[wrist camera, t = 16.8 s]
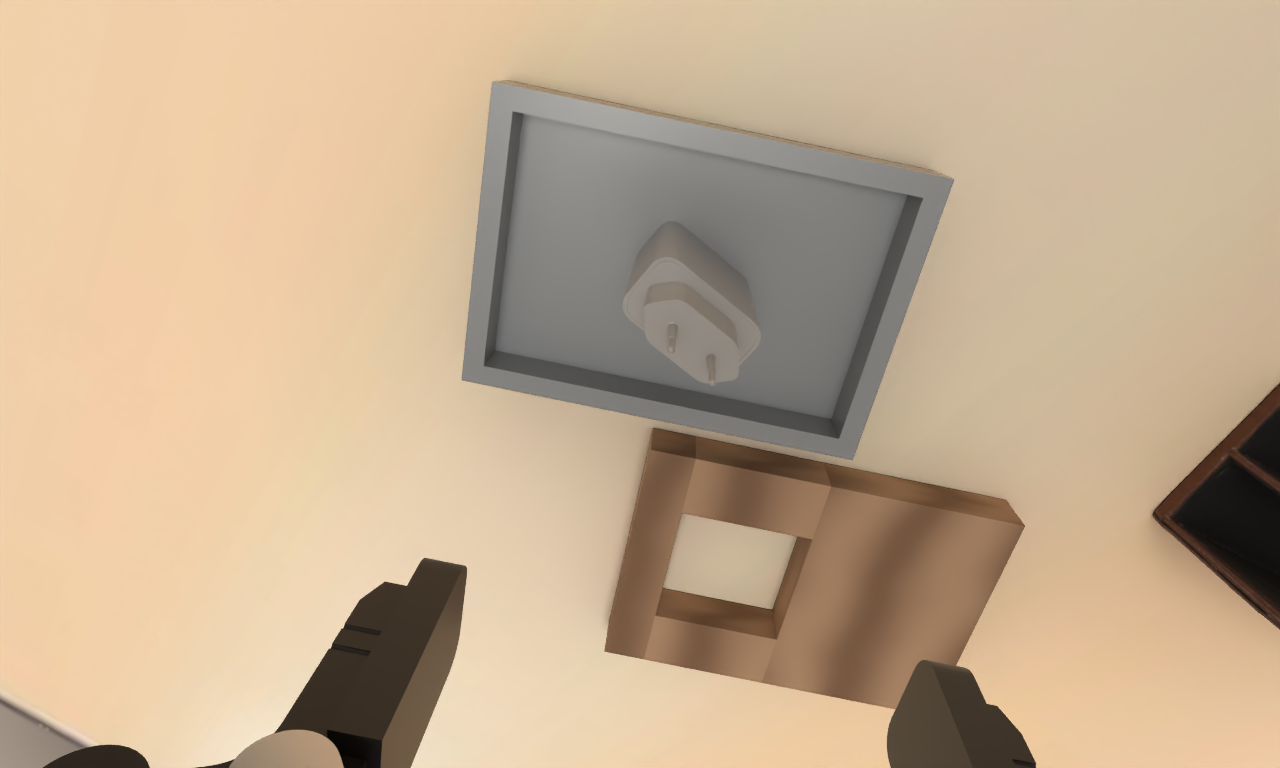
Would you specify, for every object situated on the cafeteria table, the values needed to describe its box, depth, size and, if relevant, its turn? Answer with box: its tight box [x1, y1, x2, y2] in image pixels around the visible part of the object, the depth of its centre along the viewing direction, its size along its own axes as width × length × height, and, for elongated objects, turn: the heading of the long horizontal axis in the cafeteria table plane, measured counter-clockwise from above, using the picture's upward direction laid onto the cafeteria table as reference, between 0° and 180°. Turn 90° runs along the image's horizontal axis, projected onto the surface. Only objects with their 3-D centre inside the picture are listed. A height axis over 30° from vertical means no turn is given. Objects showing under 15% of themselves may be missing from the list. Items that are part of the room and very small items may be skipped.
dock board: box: [605, 428, 1025, 709], centre depth 42 cm, size 20×14×2 cm
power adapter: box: [623, 221, 761, 386], centre depth 30 cm, size 3×5×12 cm, turn 51°
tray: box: [462, 80, 954, 460], centre depth 35 cm, size 20×14×3 cm
